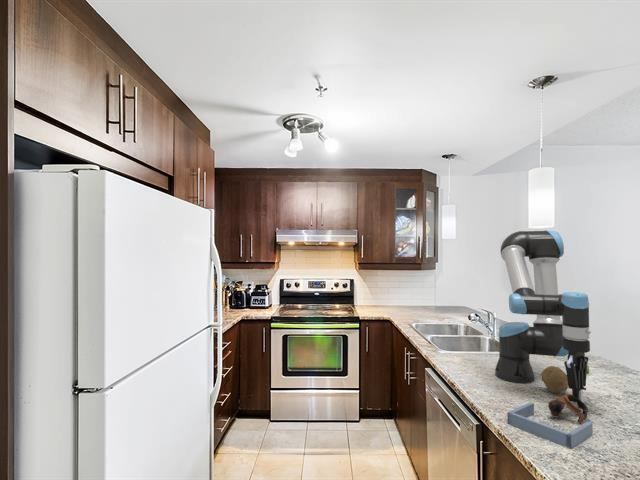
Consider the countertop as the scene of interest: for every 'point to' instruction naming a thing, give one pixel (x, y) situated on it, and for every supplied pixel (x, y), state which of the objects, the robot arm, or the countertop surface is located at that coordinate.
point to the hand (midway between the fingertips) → (577, 409)
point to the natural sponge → (555, 379)
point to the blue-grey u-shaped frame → (548, 427)
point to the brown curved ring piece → (568, 406)
